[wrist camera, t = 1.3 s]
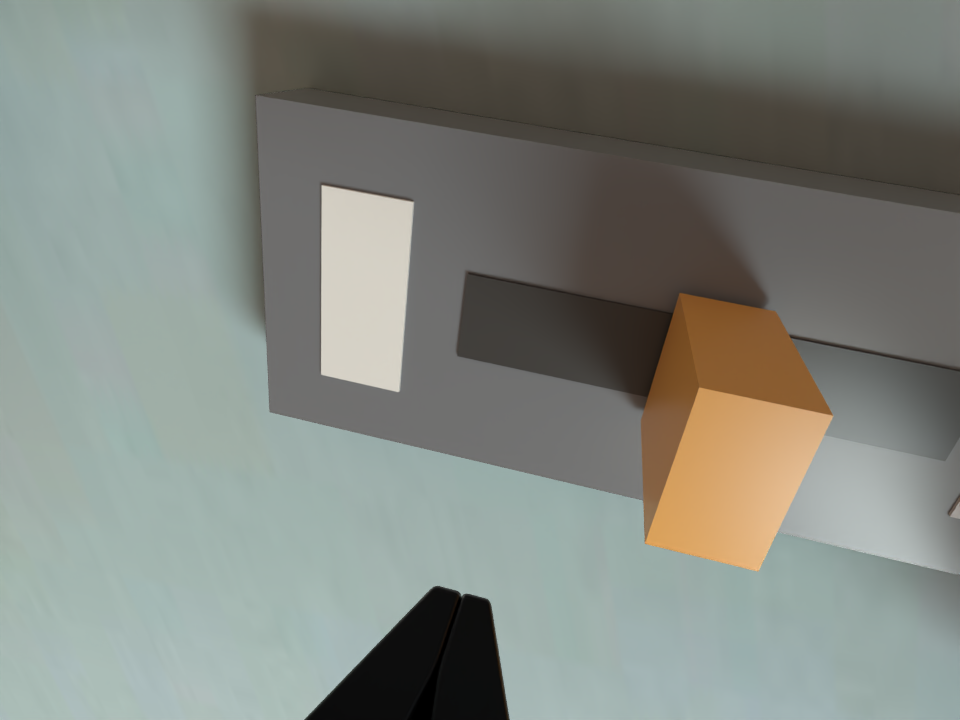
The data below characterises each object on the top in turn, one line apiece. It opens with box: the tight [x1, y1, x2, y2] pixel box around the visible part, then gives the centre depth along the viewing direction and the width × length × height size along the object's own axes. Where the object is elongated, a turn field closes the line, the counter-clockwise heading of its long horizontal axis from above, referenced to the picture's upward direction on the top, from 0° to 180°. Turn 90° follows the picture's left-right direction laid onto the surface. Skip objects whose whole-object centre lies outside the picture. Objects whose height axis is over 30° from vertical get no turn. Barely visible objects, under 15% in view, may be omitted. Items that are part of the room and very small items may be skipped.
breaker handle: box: [641, 293, 833, 571], centre depth 14 cm, size 2×4×5 cm, turn 173°
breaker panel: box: [255, 88, 960, 575], centre depth 18 cm, size 24×10×3 cm, turn 83°
